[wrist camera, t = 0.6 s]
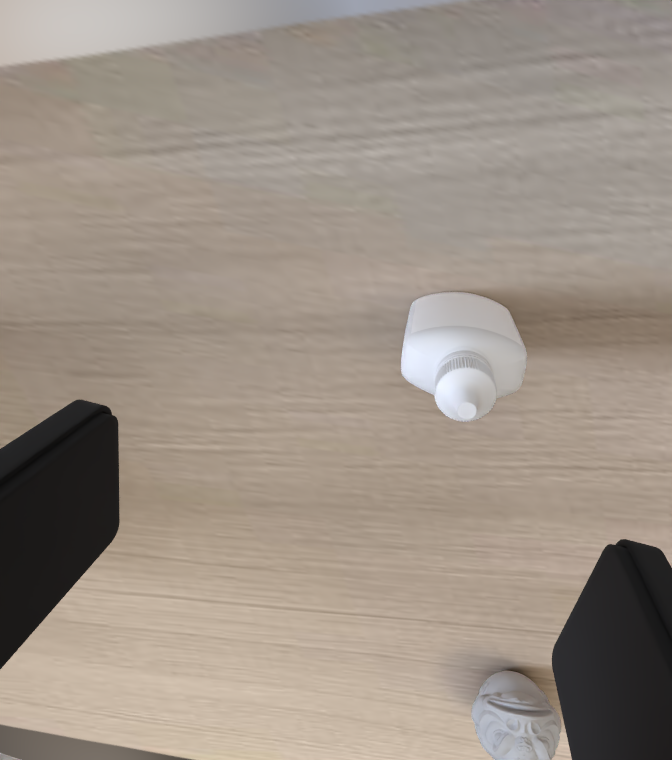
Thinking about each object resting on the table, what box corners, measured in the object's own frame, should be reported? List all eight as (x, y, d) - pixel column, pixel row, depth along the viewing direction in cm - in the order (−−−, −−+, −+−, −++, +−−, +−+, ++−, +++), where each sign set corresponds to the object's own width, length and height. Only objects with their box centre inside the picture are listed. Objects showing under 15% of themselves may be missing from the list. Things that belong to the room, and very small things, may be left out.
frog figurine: (556, 649, 38) (579, 746, 32) (545, 712, 41) (563, 814, 34) (472, 638, 39) (477, 730, 33) (466, 700, 42) (470, 796, 35)
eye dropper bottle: (441, 261, 29) (440, 322, 18) (522, 317, 29) (570, 410, 18) (396, 322, 30) (371, 411, 20) (473, 374, 31) (490, 489, 20)
